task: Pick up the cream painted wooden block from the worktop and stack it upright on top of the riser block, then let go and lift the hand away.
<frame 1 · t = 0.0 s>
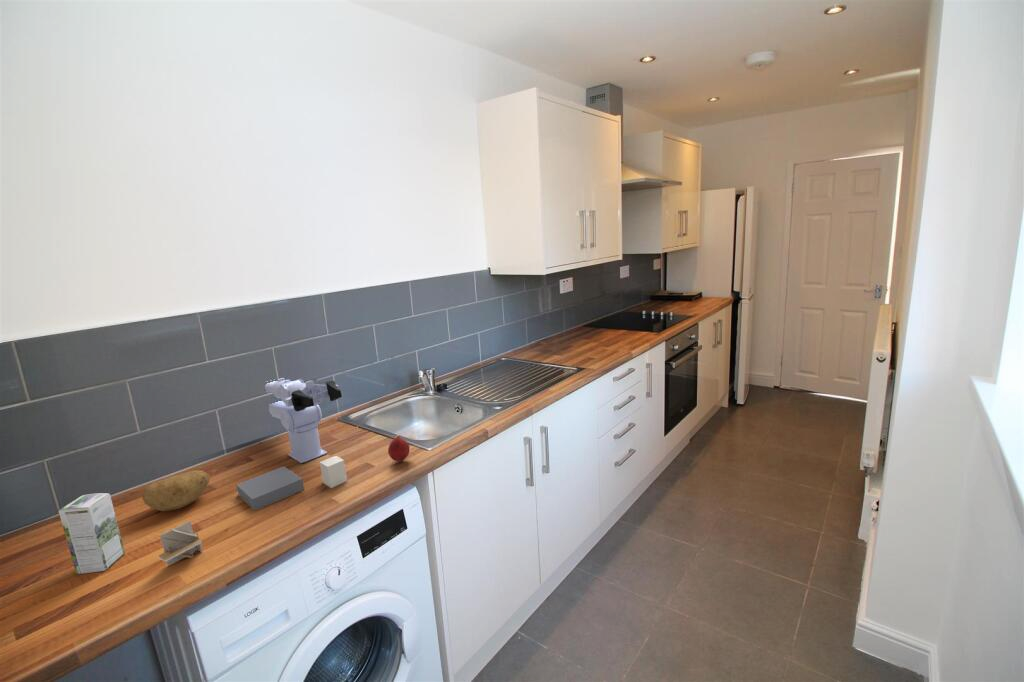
hand: (326, 397, 126), 22 cm above the counter, tool horizontal, fingers open, 7 cm apart
cream block: (335, 482, 126), on the counter
potato: (182, 506, 120), on the counter
syrup box: (102, 564, 98), on the counter
riser block: (271, 492, 123), on the counter
onion: (400, 462, 134), on the counter
architectural model: (186, 561, 98), on the counter
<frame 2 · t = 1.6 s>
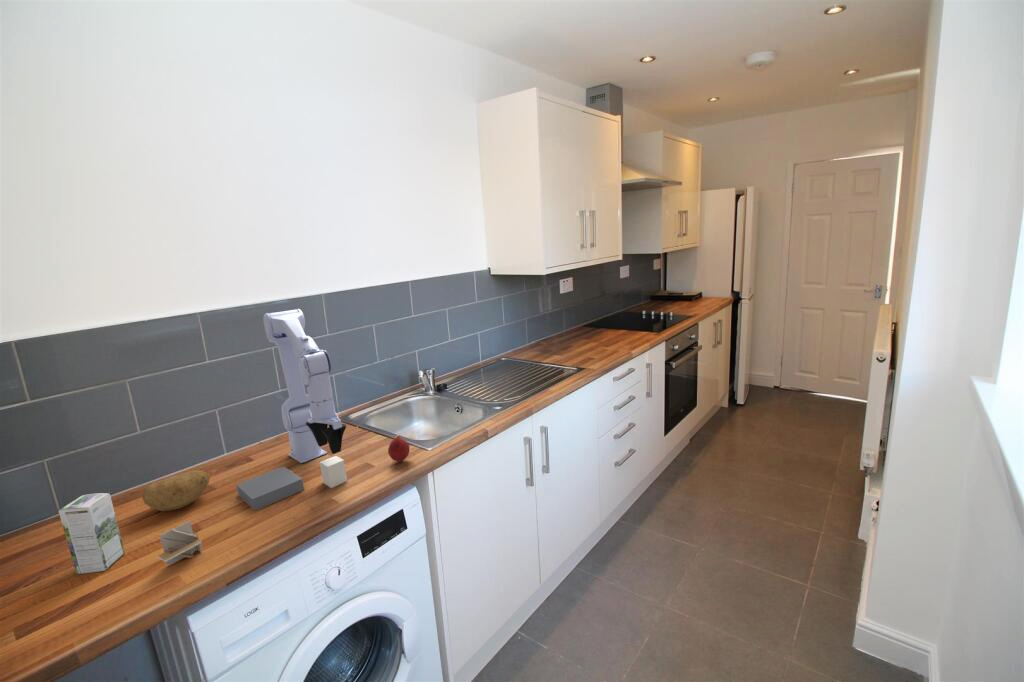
hand: (329, 448, 124), 9 cm above the counter, tool pointing down, fingers open, 7 cm apart
nothing on the counter moved.
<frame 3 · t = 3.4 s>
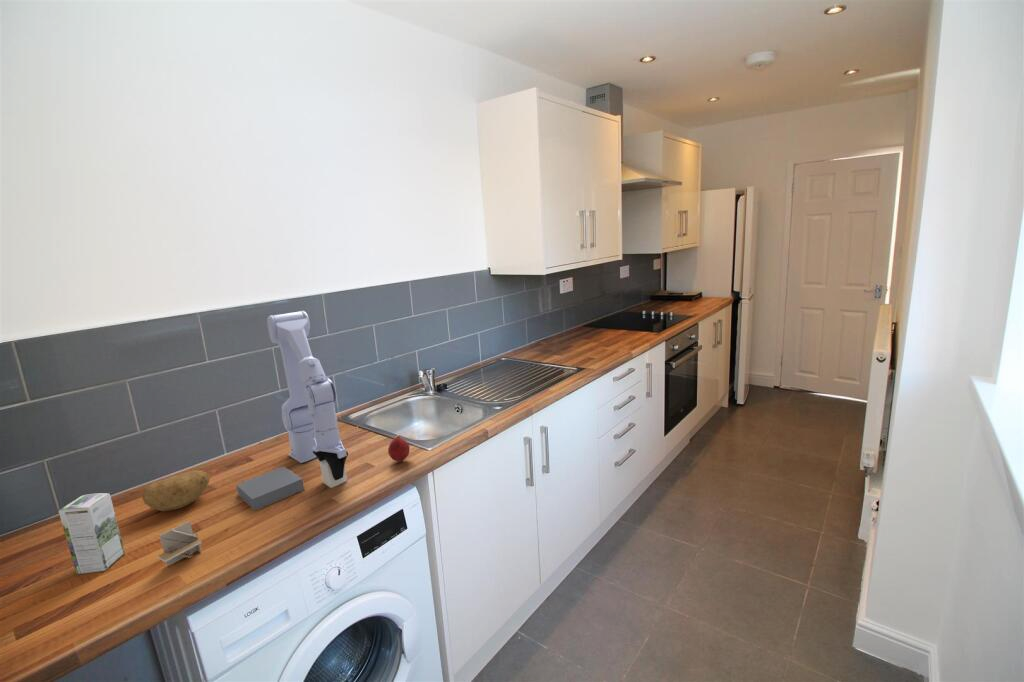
hand: (334, 475, 125), 2 cm above the counter, tool pointing down, fingers closed on cream block, 4 cm apart
cream block: (335, 481, 126), on the counter, touching gripper
everything else where it was.
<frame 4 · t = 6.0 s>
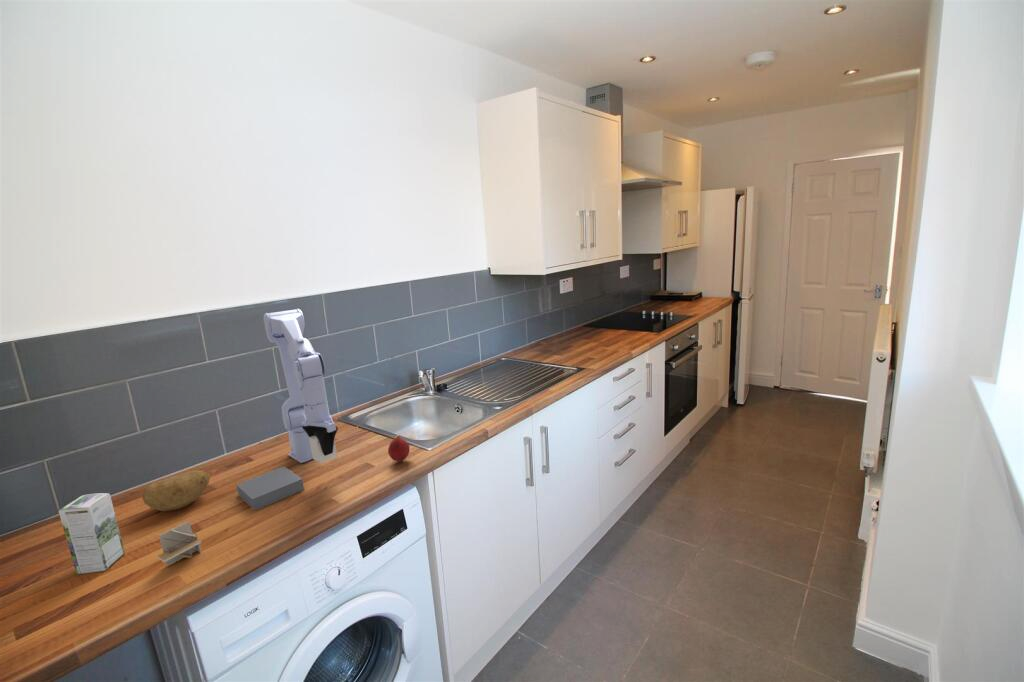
hand: (323, 451, 124), 9 cm above the counter, tool pointing down, fingers closed on cream block, 4 cm apart
cream block: (325, 457, 124), point 7 cm above the counter, touching gripper
everything else where it was.
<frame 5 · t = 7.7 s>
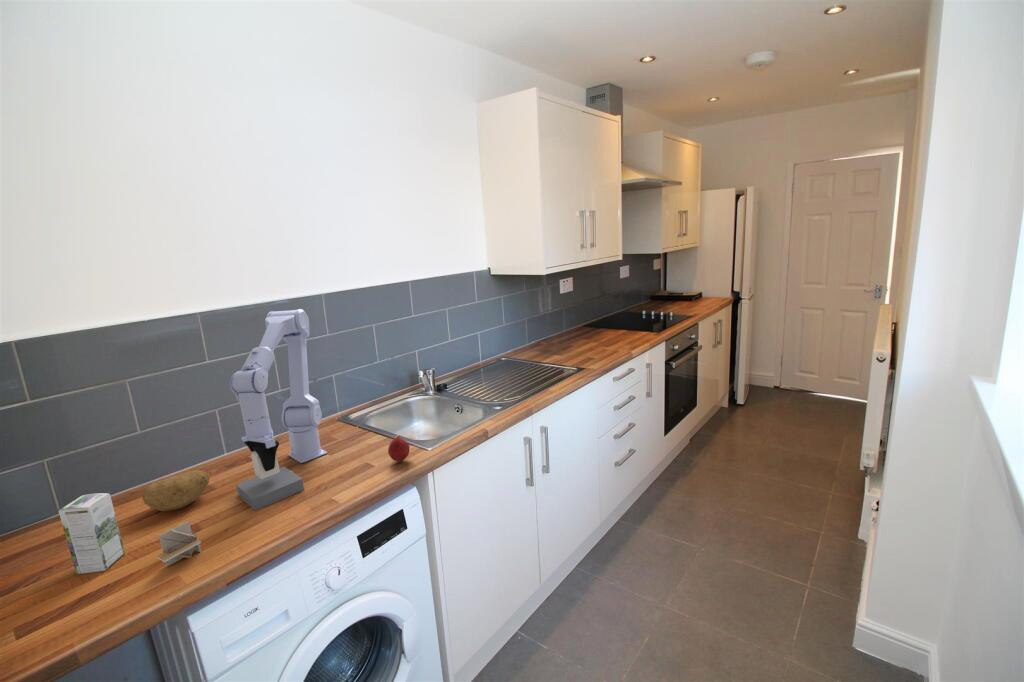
hand: (266, 466, 121), 7 cm above the counter, tool pointing down, fingers closed on cream block, 4 cm apart
cream block: (267, 473, 122), point 5 cm above the counter, touching gripper
everything else where it was.
when the fingers open (6 cm above the counter, at t = 8.9 s): cream block stays where it is, resting on riser block.
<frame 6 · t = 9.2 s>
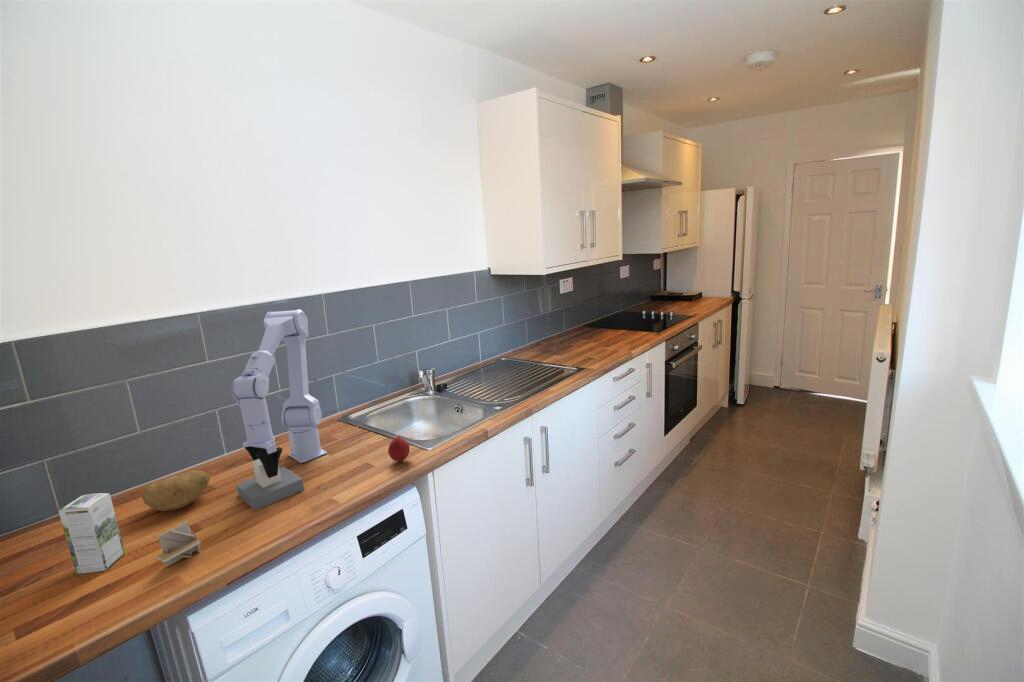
hand: (267, 471, 122), 6 cm above the counter, tool pointing down, fingers open, 7 cm apart
cream block: (269, 481, 122), point 3 cm above the counter, touching riser block
everything else where it was.
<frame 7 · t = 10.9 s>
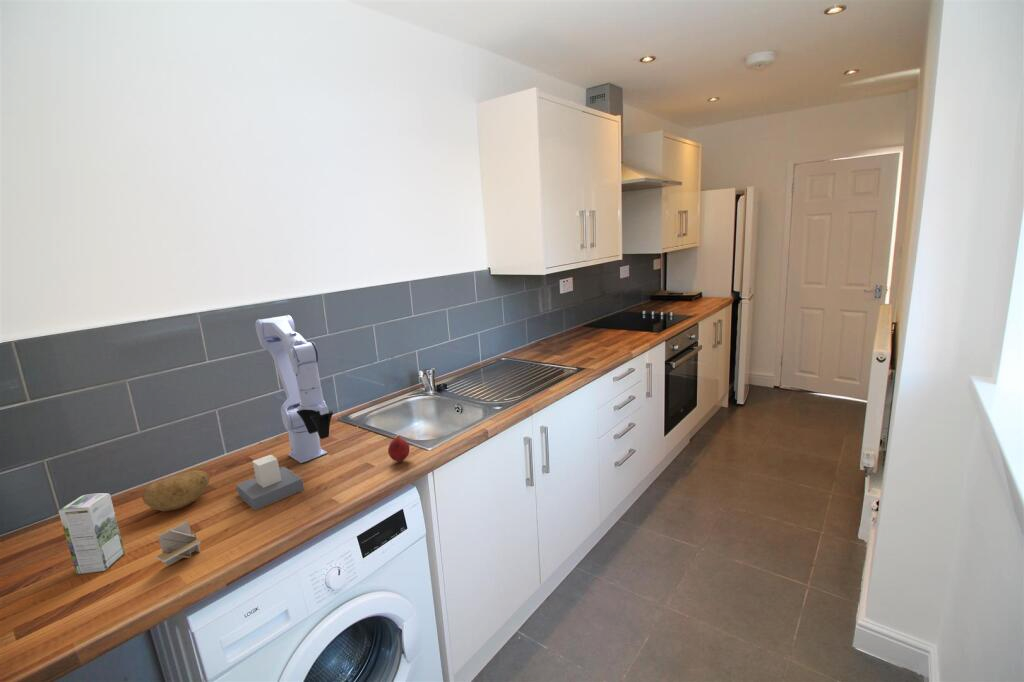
hand: (318, 435, 131), 10 cm above the counter, tool pointing down, fingers open, 7 cm apart
nothing on the counter moved.
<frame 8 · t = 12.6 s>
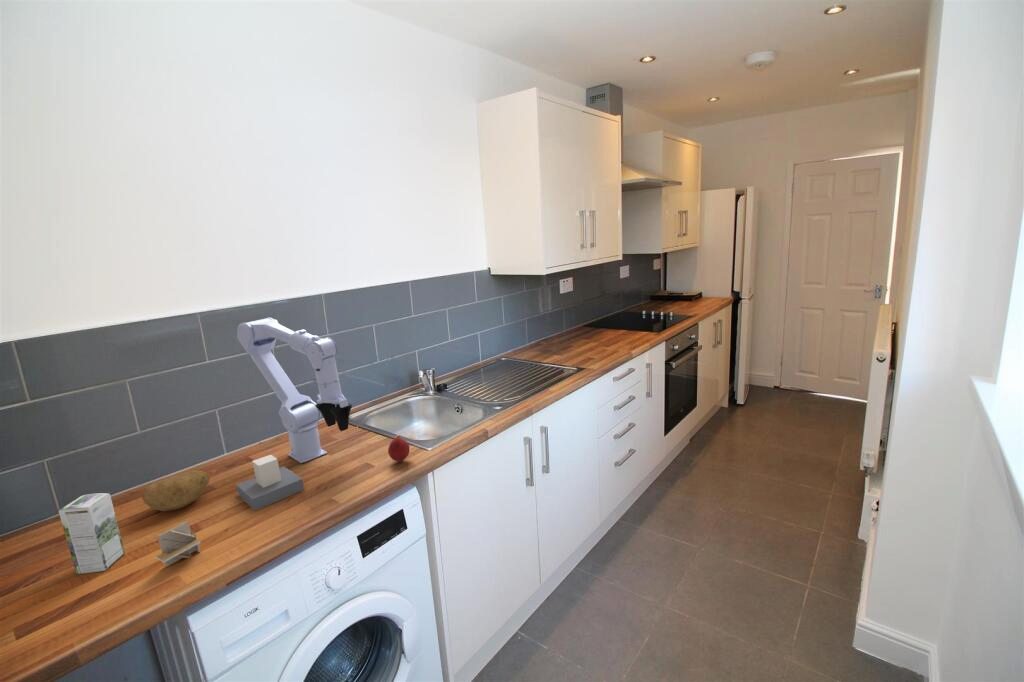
hand: (337, 427, 135), 10 cm above the counter, tool pointing down, fingers open, 7 cm apart
nothing on the counter moved.
at the end: cream block inside the target area on the riser block (0.0 cm from its centre), point 3.0 cm above the riser block's base; cream block tilted 0°; the gripper is holding nothing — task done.
